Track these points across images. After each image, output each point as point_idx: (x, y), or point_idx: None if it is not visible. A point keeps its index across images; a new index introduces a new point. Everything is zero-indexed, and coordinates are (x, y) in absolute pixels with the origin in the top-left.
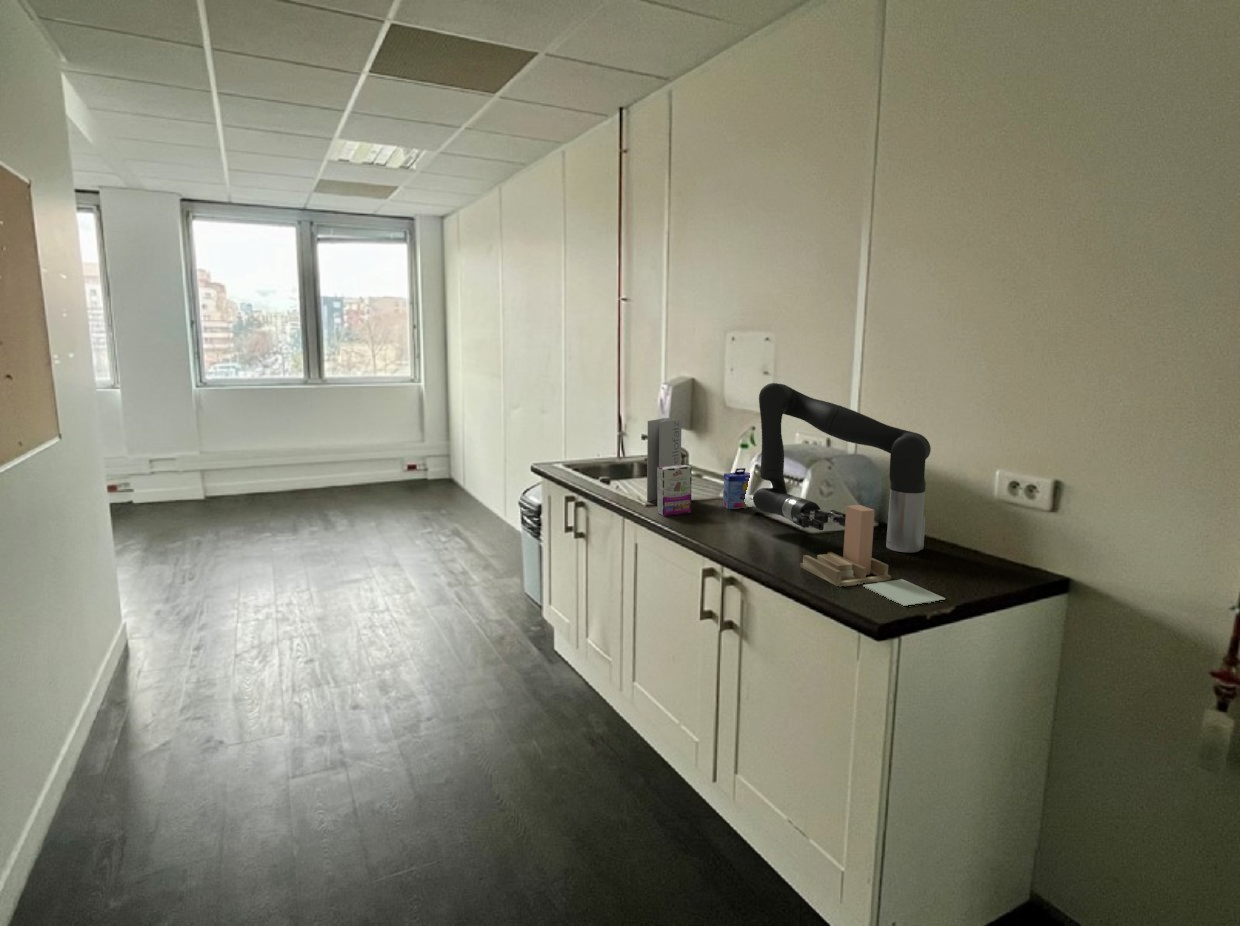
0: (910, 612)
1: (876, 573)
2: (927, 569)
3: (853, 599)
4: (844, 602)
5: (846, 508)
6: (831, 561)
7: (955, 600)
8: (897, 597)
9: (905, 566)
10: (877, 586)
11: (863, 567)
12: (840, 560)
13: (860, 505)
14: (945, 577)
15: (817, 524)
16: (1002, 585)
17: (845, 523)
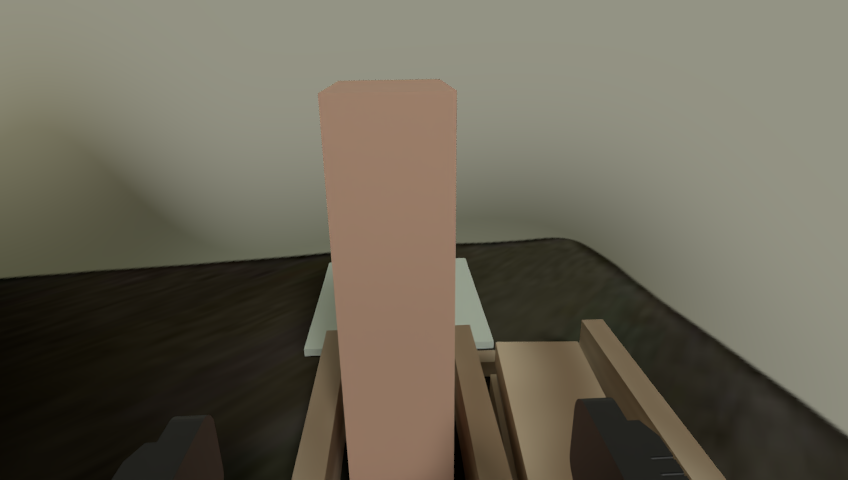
0: (469, 251)
1: None
2: (48, 419)
3: (577, 301)
4: (614, 294)
5: (455, 113)
6: (588, 383)
7: (305, 266)
8: None
9: (77, 472)
10: None
11: (457, 329)
12: (529, 384)
13: (328, 90)
14: (116, 351)
15: (651, 440)
16: (63, 293)
17: (455, 239)
